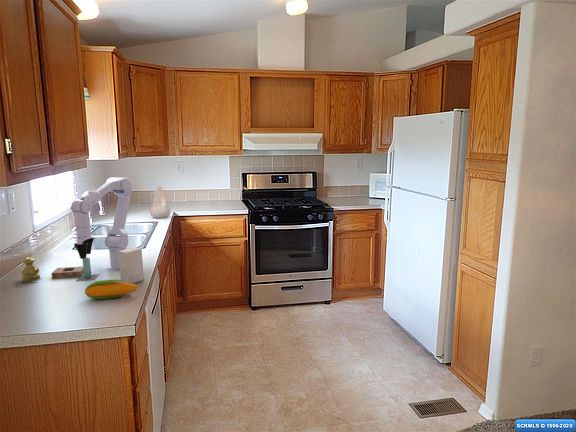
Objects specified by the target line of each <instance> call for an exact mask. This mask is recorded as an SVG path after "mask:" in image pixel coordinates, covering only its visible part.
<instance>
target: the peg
mask: <svg viewBox="0 0 576 432" xmlns="http://www.w3.org/2000/svg"><path fill="white" fill-rule="evenodd" d="M81 260H82V266H83V270H84V274H83V275H84V278H85V279H88V278H91V274H92V267H91V258H90V257H87V256H86V259H81Z"/></svg>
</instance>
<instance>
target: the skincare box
mask: <svg viewBox="0 0 576 432" xmlns="http://www.w3.org/2000/svg"><path fill="white" fill-rule="evenodd" d="M142 250H143V249H142V248H140V247H136V246H132V247H128V248H126V249H124V250H121V251H118V254H119V265H120V268H119V274H120V280H123V281H122V282H121V283H132V284H136V283H139V282H142V281H144V280H145V278H144V277H145V274H144V265H143V264H144V263H143V262H144V261H143V251H142Z"/></svg>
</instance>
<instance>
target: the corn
mask: <svg viewBox="0 0 576 432" xmlns="http://www.w3.org/2000/svg"><path fill="white" fill-rule="evenodd" d="M122 281H123V280H121V279H104V280H97V281H94V282H92V283H90V284H88V285H87V286H86V288H85V289H84V294H85V295H86V296H87V297H88V298H90V299H93V300H108V299H117V298H121V296H124V295H128V294H131V293H134V292H136V291H137V290H138V288H139V285H137V284H136V283H133V284H132V283H123V282H122Z"/></svg>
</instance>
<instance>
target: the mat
mask: <svg viewBox="0 0 576 432" xmlns="http://www.w3.org/2000/svg"><path fill="white" fill-rule="evenodd" d="M99 276H100V273H94V274H93V273H91V278H88V279H85V278H84V274H83V275H82V276H81V277H77V279H76V280H75V282H87V281H88V282H89V281H91V282H92V281H95V280H96V279H97V278H98V277H99Z"/></svg>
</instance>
